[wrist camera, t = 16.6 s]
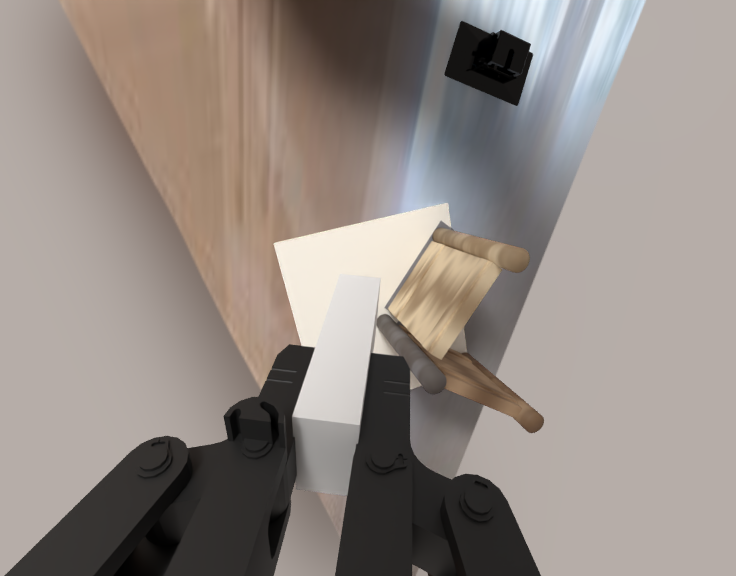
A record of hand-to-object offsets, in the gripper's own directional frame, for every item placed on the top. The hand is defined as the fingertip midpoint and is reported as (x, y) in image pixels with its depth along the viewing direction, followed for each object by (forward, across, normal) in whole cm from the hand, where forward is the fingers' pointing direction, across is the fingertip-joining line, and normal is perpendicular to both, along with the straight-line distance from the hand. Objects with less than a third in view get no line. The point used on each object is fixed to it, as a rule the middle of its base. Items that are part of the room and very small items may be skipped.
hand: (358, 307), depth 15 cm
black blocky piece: (+38, +9, +8) cm, 40 cm away
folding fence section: (+26, +8, -22) cm, 35 cm away
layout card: (+26, 0, -18) cm, 32 cm away
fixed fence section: (+28, +4, -14) cm, 31 cm away
